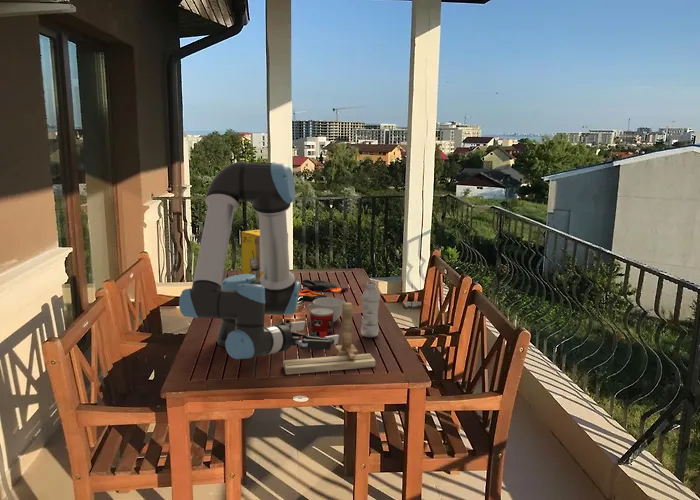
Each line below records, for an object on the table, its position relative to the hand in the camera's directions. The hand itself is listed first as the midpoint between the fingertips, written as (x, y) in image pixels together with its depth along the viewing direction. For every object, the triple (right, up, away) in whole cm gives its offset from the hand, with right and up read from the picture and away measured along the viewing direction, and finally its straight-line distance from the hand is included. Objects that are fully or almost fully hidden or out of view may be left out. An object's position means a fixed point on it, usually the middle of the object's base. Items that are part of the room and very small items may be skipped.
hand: (320, 332), depth 166 cm
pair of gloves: (-8, +5, +82) cm, 82 cm away
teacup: (0, -2, +42) cm, 42 cm away
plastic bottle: (+16, -6, +26) cm, 31 cm away
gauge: (+9, -10, +5) cm, 14 cm away
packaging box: (-33, +10, +97) cm, 103 cm away
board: (+3, -11, -1) cm, 11 cm away
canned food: (-1, -6, +21) cm, 22 cm away
